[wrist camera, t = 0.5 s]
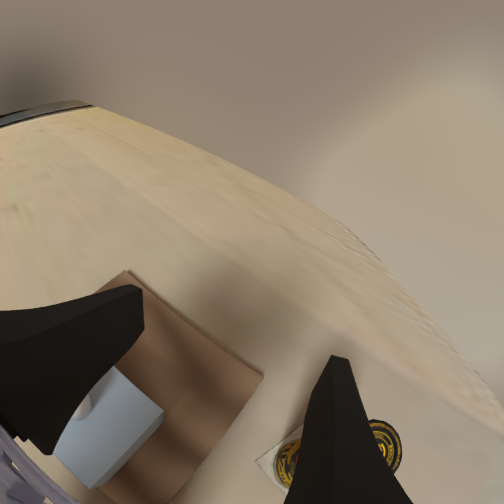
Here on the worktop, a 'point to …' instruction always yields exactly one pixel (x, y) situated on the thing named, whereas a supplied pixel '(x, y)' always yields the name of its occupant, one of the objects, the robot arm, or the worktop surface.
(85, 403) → the cover
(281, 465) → the condiment
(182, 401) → the board
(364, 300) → the worktop surface
